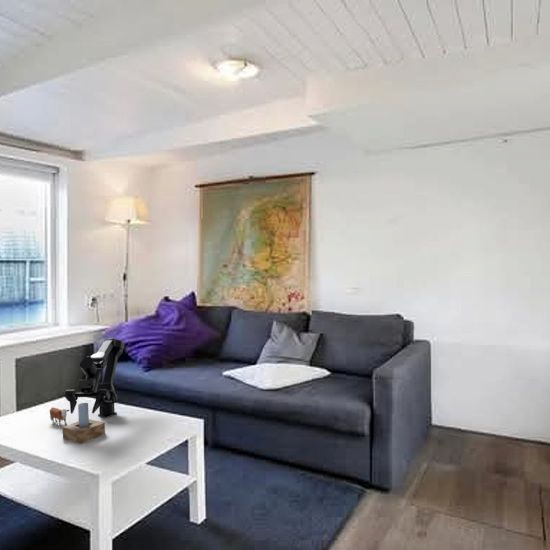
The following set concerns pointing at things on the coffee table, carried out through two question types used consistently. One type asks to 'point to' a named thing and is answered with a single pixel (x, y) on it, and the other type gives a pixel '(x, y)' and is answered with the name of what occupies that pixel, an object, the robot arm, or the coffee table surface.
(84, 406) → the dowel
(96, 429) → the socket
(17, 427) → the coffee table surface
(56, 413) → the bull figurine
